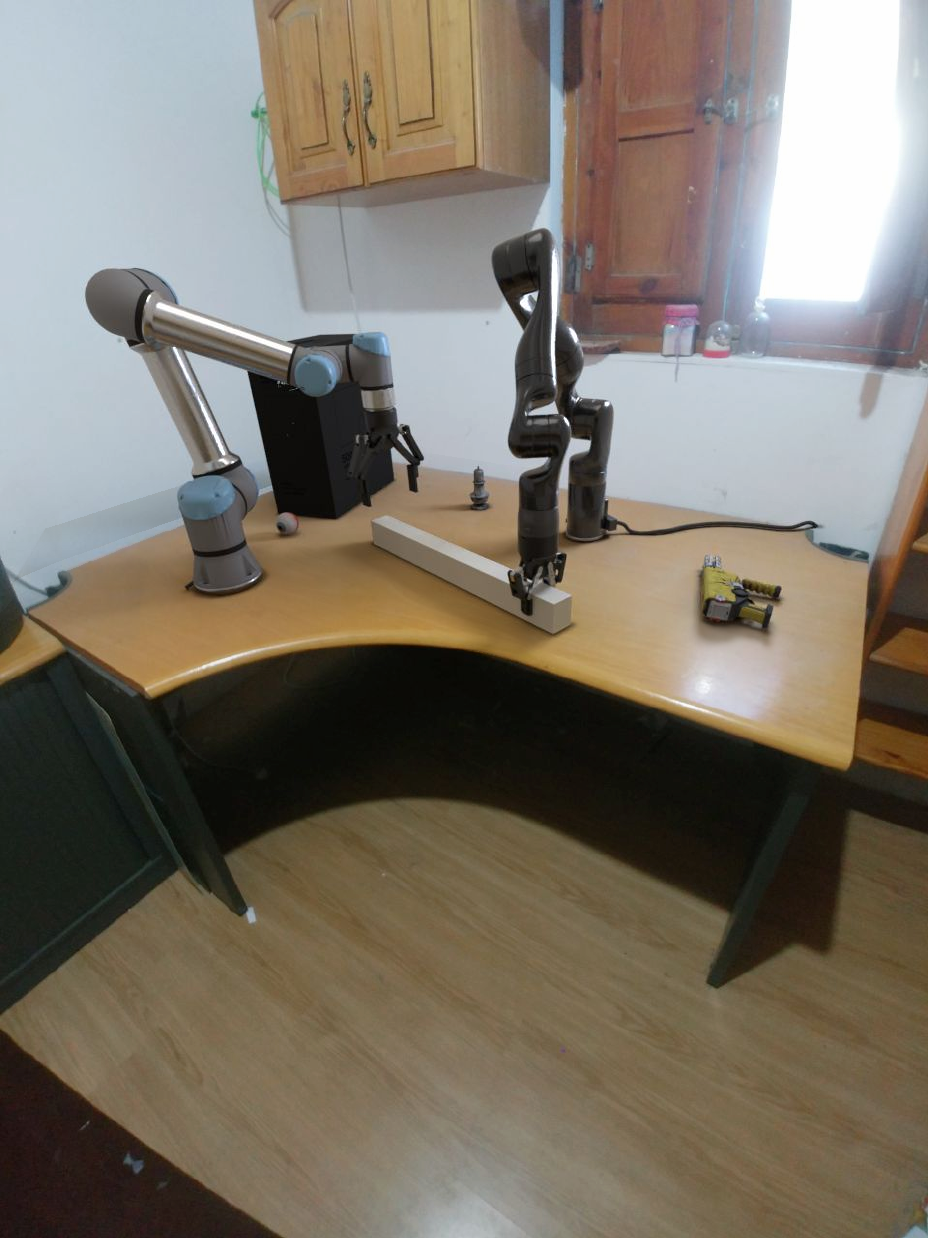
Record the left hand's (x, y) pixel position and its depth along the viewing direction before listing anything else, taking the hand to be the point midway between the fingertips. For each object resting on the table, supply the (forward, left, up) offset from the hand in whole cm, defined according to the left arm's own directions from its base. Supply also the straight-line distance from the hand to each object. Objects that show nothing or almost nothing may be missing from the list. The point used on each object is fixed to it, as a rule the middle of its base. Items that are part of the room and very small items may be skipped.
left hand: (391, 498), depth 147 cm
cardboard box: (-5, +49, -13) cm, 51 cm away
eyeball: (-24, +23, -13) cm, 36 cm away
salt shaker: (+30, +17, -13) cm, 37 cm away
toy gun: (+54, -60, -13) cm, 82 cm away
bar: (+7, -24, -13) cm, 28 cm away
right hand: (+15, -47, -11) cm, 51 cm away
